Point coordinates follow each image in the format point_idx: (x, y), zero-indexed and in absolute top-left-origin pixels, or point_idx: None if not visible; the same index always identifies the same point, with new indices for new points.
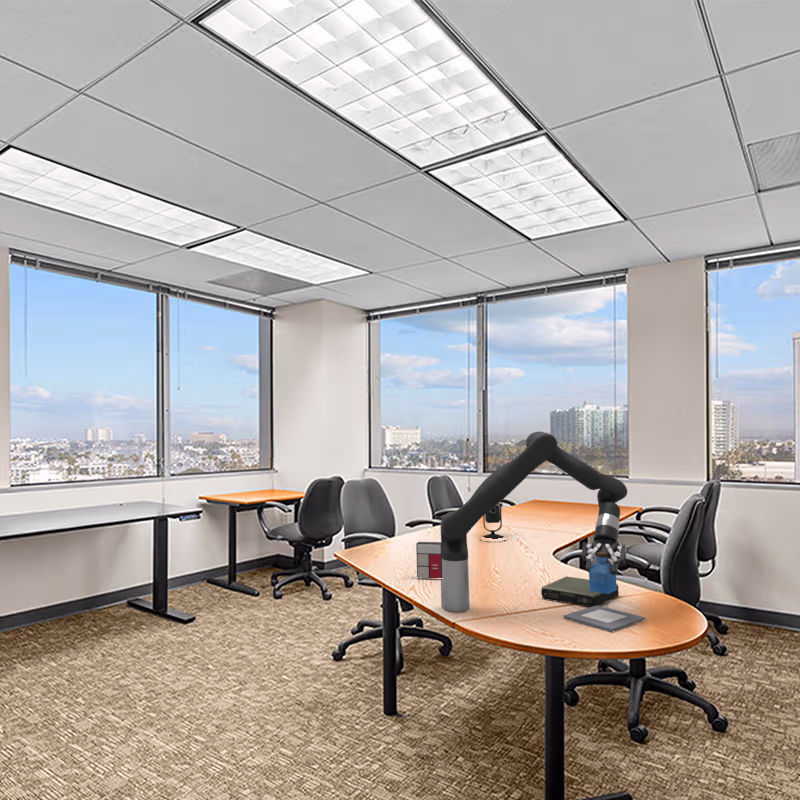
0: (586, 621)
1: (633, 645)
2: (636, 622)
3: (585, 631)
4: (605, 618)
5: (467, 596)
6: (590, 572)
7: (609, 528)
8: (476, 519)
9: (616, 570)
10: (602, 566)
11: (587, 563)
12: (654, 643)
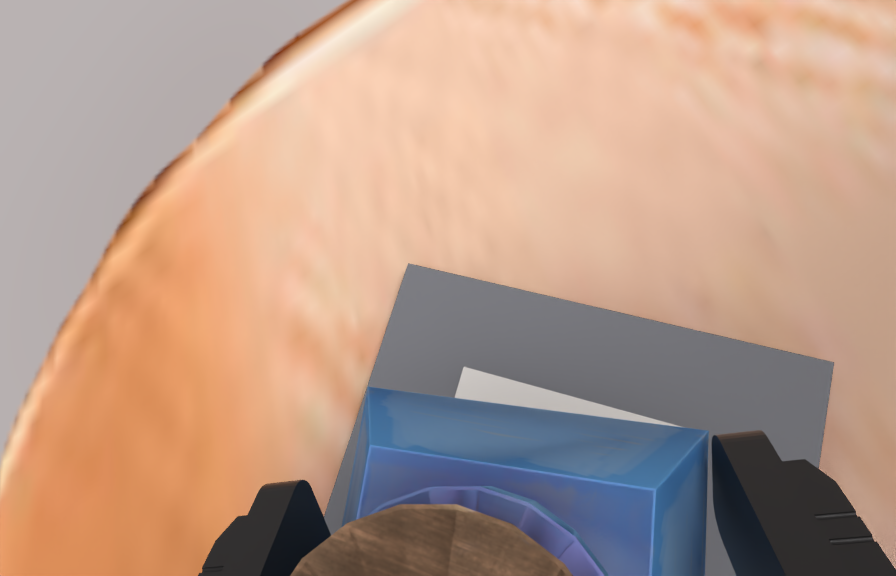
0: (606, 319)
1: (269, 147)
2: None
3: (555, 197)
4: None
5: None
6: (674, 428)
7: None
8: None
9: (226, 541)
10: (431, 440)
11: (850, 568)
12: (184, 234)
